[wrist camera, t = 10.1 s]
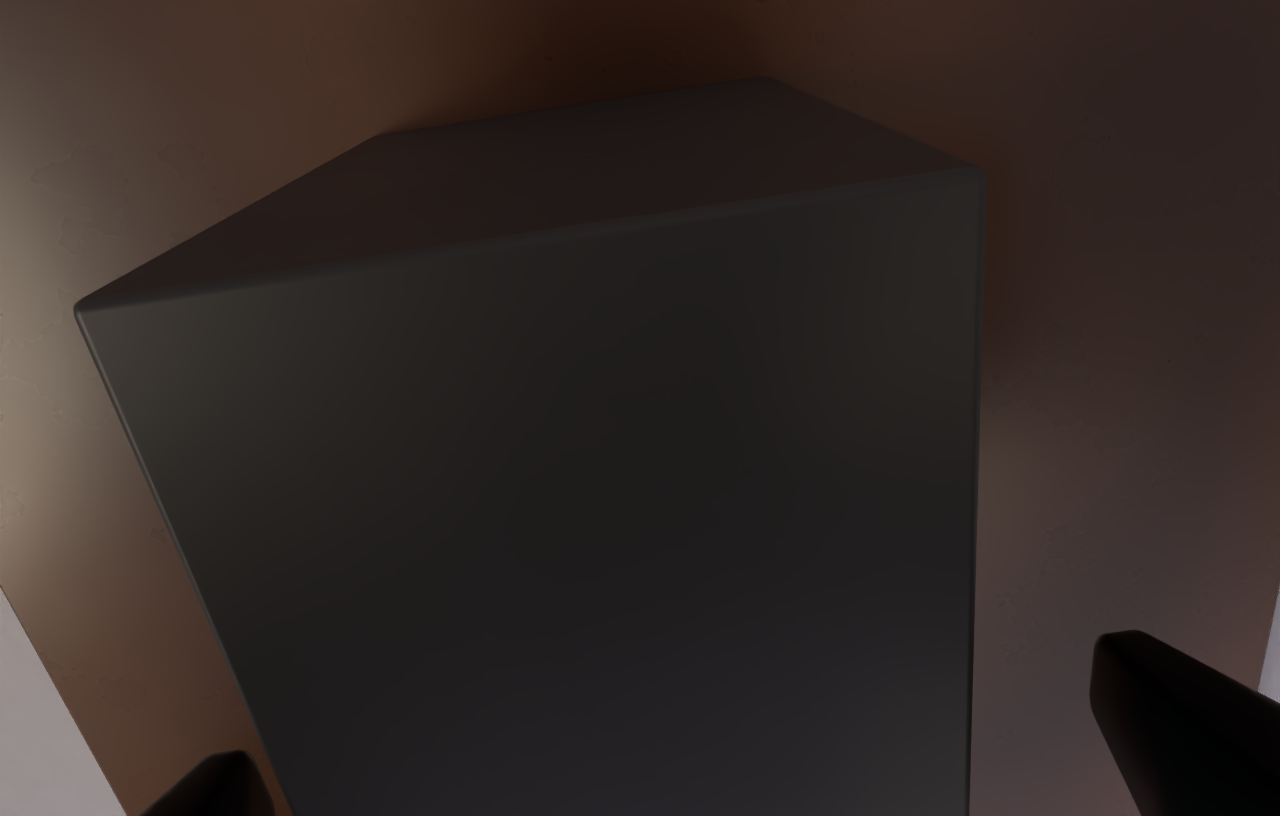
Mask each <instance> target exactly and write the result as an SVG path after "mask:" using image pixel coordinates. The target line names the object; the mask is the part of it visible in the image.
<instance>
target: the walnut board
mask: <svg viewBox="0 0 1280 816" xmlns="http://www.w3.org/2000/svg"><path fill="white" fill-rule="evenodd" d="M764 76H768V77H771V78H774V79H776V80H778V81H781V82H783V83H785V84H788V85H790V86H792V87H795V88H797V89H799V90H802V91H804V92H806V93H809V94H811V95H813V96H816V97H818V98H820V99H823V100H825V101H827V102H830V103H832V104H834V105H837V106H839V107H841V108H844V109H846V110H848V111H851V112H853V113H855V114H858V115H860V116H863V117H865V118H867V119H870V120H872V121H874V122H877V123H879V124H881V125H884V126H886V127H888V128H891V129H893V130H895V131H898V132H900V133H902V134H905V135H907V136H909V137H912V138H914V139H916V140H919V141H921V142H923V143H926V144H928V145H930V146H933V147H935V148H937V149H940V150H942V151H944V152H947V153H949V154H951V155H954V156H956V157H958V158H961V159H963V160H965V161H968V162H970V163H973V164H975V165H977V166H980V167H982V168H983V170H984V172H985V175H986V177H987V187H986V224H985V260H984V296H983V333H982V369H981V406H980V442H979V479H978V515H977V552H976V588H975V625H974V661H973V698H972V734H971V770H970V807H969V816H1141V815H1140V812H1139V810H1138V808H1137V806H1136V804H1135V802H1134V800H1133V798H1132V796H1131V794H1130V791H1129V789H1128V787H1127V785H1126V783H1125V781H1124V779H1123V777H1122V775H1121V773H1120V770H1119V768H1118V766H1117V764H1116V762H1115V760H1114V758H1113V756H1112V754H1111V752H1110V749H1109V747H1108V745H1107V743H1106V741H1105V739H1104V737H1103V735H1102V733H1101V731H1100V728H1099V726H1098V724H1097V722H1096V720H1095V718H1094V715H1093V712H1092V709H1091V705H1090V699H1089V689H1090V679H1091V669H1092V659H1093V650H1094V644H1095V641H1096V639H1097V637H1098V636H1100V635H1102V634H1104V633H1111V632H1118V631H1126V630H1140V631H1143V632H1145V633H1148V634H1149V635H1151V636H1153V637H1155V638H1157V639H1159V640H1161V641H1163V642H1165V643H1166V644H1168V645H1170V646H1172V647H1174V648H1176V649H1178V650H1180V651H1182V652H1183V653H1185V654H1187V655H1189V656H1191V657H1193V658H1195V659H1197V660H1199V661H1200V662H1202V663H1204V664H1206V665H1208V666H1210V667H1212V668H1214V669H1216V670H1217V671H1219V672H1221V673H1223V674H1225V675H1227V676H1229V677H1231V678H1233V679H1234V680H1236V681H1238V682H1240V683H1242V684H1244V685H1246V686H1248V687H1250V688H1251V689H1253V690H1255V691H1257V692H1258V687H1259V682H1260V677H1261V673H1262V668H1263V663H1264V658H1265V653H1266V649H1267V644H1268V639H1269V634H1270V630H1271V625H1272V620H1273V615H1274V610H1275V606H1276V601H1277V596H1278V591H1279V586H1280V0H0V587H1V589H2V591H3V592H4V594H5V596H6V598H7V600H8V601H9V603H10V605H11V607H12V609H13V611H14V612H15V614H16V616H17V618H18V620H19V621H20V623H21V625H22V627H23V629H24V630H25V632H26V634H27V636H28V638H29V639H30V641H31V643H32V645H33V647H34V649H35V650H36V652H37V654H38V656H39V658H40V659H41V661H42V663H43V665H44V667H45V668H46V670H47V672H48V674H49V676H50V678H51V679H52V681H53V683H54V685H55V687H56V688H57V690H58V692H59V694H60V696H61V697H62V699H63V701H64V703H65V705H66V707H67V708H68V710H69V712H70V714H71V716H72V717H73V719H74V721H75V723H76V725H77V726H78V728H79V730H80V732H81V734H82V735H83V737H84V739H85V741H86V743H87V745H88V746H89V748H90V750H91V752H92V754H93V755H94V757H95V759H96V761H97V763H98V764H99V766H100V768H101V770H102V772H103V774H104V775H105V777H106V779H107V781H108V783H109V784H110V786H111V788H112V790H113V792H114V793H115V795H116V797H117V799H118V801H119V803H120V804H121V806H122V808H123V810H124V812H125V813H126V815H127V816H138V815H139V814H140V813H142V812H143V811H144V810H145V809H146V808H147V807H148V806H149V805H151V804H152V803H153V802H154V801H155V800H156V799H157V798H158V797H160V796H161V795H162V794H163V793H164V792H165V791H166V790H167V789H169V788H170V787H171V786H172V785H173V784H174V783H175V782H176V781H178V780H179V779H180V778H181V777H182V776H183V775H184V774H185V773H187V772H188V771H189V770H190V769H191V768H192V767H193V766H194V765H196V764H197V763H198V762H199V761H200V760H201V759H203V758H204V757H205V756H207V755H209V754H213V753H218V752H225V751H232V750H241V749H242V750H247V751H248V752H250V753H251V754H252V755H253V757H254V759H255V761H256V763H257V765H258V768H259V770H260V772H261V774H262V776H263V779H264V781H265V783H266V785H267V788H268V790H269V792H270V794H271V797H272V799H273V802H274V806H275V814H276V816H293V815H292V812H291V810H290V808H289V805H288V803H287V801H286V799H285V796H284V794H283V792H282V789H281V787H280V785H279V783H278V780H277V778H276V776H275V773H274V771H273V769H272V767H271V764H270V762H269V760H268V758H267V755H266V753H265V751H264V748H263V746H262V744H261V742H260V739H259V737H258V735H257V732H256V730H255V728H254V726H253V723H252V721H251V719H250V716H249V714H248V712H247V710H246V707H245V705H244V703H243V701H242V698H241V696H240V694H239V691H238V689H237V687H236V685H235V682H234V680H233V678H232V675H231V673H230V671H229V669H228V666H227V664H226V662H225V659H224V657H223V655H222V653H221V650H220V648H219V646H218V644H217V641H216V639H215V637H214V634H213V632H212V630H211V628H210V625H209V623H208V621H207V618H206V616H205V614H204V612H203V609H202V607H201V605H200V602H199V600H198V598H197V596H196V593H195V591H194V589H193V587H192V584H191V582H190V580H189V577H188V575H187V573H186V571H185V568H184V566H183V564H182V561H181V559H180V557H179V555H178V552H177V550H176V548H175V545H174V543H173V541H172V539H171V536H170V534H169V532H168V530H167V527H166V525H165V523H164V520H163V518H162V516H161V514H160V511H159V509H158V507H157V504H156V502H155V500H154V498H153V495H152V493H151V491H150V488H149V486H148V484H147V482H146V479H145V477H144V475H143V473H142V470H141V468H140V466H139V463H138V461H137V459H136V457H135V454H134V452H133V450H132V447H131V445H130V443H129V441H128V438H127V436H126V434H125V431H124V429H123V427H122V425H121V422H120V420H119V418H118V416H117V413H116V411H115V409H114V406H113V404H112V402H111V400H110V397H109V395H108V393H107V390H106V388H105V386H104V384H103V381H102V379H101V377H100V374H99V372H98V370H97V368H96V365H95V363H94V361H93V359H92V356H91V354H90V352H89V349H88V347H87V345H86V343H85V340H84V338H83V336H82V333H81V331H80V329H79V327H78V324H77V322H76V320H75V317H74V311H73V307H74V305H75V303H76V302H78V301H79V300H81V299H82V298H84V297H85V296H87V295H89V294H91V293H93V292H94V291H96V290H98V289H100V288H102V287H103V286H105V285H107V284H109V283H111V282H112V281H114V280H116V279H118V278H120V277H121V276H123V275H125V274H127V273H129V272H130V271H132V270H134V269H136V268H138V267H139V266H141V265H143V264H145V263H146V262H148V261H150V260H152V259H154V258H155V257H157V256H159V255H161V254H163V253H164V252H166V251H168V250H170V249H172V248H173V247H175V246H177V245H179V244H181V243H182V242H184V241H186V240H188V239H190V238H191V237H193V236H195V235H197V234H199V233H200V232H202V231H204V230H206V229H208V228H209V227H211V226H213V225H215V224H217V223H218V222H220V221H222V220H224V219H226V218H227V217H229V216H231V215H233V214H235V213H236V212H238V211H240V210H242V209H244V208H245V207H247V206H249V205H251V204H253V203H254V202H256V201H258V200H260V199H262V198H263V197H265V196H267V195H269V194H270V193H272V192H274V191H276V190H278V189H279V188H281V187H283V186H285V185H287V184H288V183H290V182H292V181H294V180H296V179H297V178H299V177H301V176H303V175H305V174H306V173H308V172H310V171H312V170H314V169H315V168H317V167H319V166H321V165H323V164H324V163H326V162H328V161H330V160H332V159H333V158H335V157H337V156H339V155H341V154H342V153H344V152H346V151H348V150H350V149H351V148H353V147H355V146H357V145H359V144H360V143H362V142H364V141H366V140H368V139H369V138H371V137H373V136H378V135H385V134H391V133H398V132H404V131H411V130H417V129H424V128H430V127H437V126H443V125H450V124H457V123H463V122H470V121H476V120H483V119H489V118H496V117H502V116H509V115H515V114H522V113H528V112H535V111H542V110H548V109H555V108H561V107H568V106H574V105H581V104H587V103H594V102H600V101H607V100H614V99H620V98H627V97H633V96H640V95H646V94H653V93H659V92H666V91H672V90H679V89H686V88H692V87H699V86H705V85H712V84H718V83H725V82H731V81H738V80H744V79H751V78H757V77H764Z"/></svg>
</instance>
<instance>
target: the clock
mask: <svg viewBox="0 0 1280 816" xmlns="http://www.w3.org/2000/svg"><path fill="white" fill-rule="evenodd" d="M986 187H987V177H986V175H985V172H984V170H983V168H982V167H980V166H977V165H975V164H973V163H970V162H968V161H965V160H963V159H961V158H958V157H956V156H954V155H951V154H949V153H947V152H944V151H942V150H940V149H937V148H935V147H933V146H930V145H928V144H926V143H923V142H921V141H919V140H916V139H914V138H912V137H909V136H907V135H905V134H902V133H900V132H898V131H895V130H893V129H891V128H888V127H886V126H884V125H881V124H879V123H877V122H874V121H872V120H870V119H867V118H865V117H863V116H860V115H858V114H855V113H853V112H851V111H848V110H846V109H844V108H841V107H839V106H837V105H834V104H832V103H830V102H827V101H825V100H823V99H820V98H818V97H816V96H813V95H811V94H809V93H806V92H804V91H802V90H799V89H797V88H795V87H792V86H790V85H788V84H785V83H783V82H781V81H778V80H776V79H774V78H771V77H768V76H764V77H757V78H751V79H744V80H738V81H731V82H725V83H718V84H712V85H705V86H699V87H692V88H686V89H679V90H672V91H666V92H659V93H653V94H646V95H640V96H633V97H627V98H620V99H614V100H607V101H600V102H594V103H587V104H581V105H574V106H568V107H561V108H555V109H548V110H542V111H535V112H528V113H522V114H515V115H509V116H502V117H496V118H489V119H483V120H476V121H470V122H463V123H457V124H450V125H443V126H437V127H430V128H424V129H417V130H411V131H404V132H398V133H391V134H385V135H378V136H373V137H371V138H369V139H368V140H366V141H364V142H362V143H360V144H359V145H357V146H355V147H353V148H351V149H350V150H348V151H346V152H344V153H342V154H341V155H339V156H337V157H335V158H333V159H332V160H330V161H328V162H326V163H324V164H323V165H321V166H319V167H317V168H315V169H314V170H312V171H310V172H308V173H306V174H305V175H303V176H301V177H299V178H297V179H296V180H294V181H292V182H290V183H288V184H287V185H285V186H283V187H281V188H279V189H278V190H276V191H274V192H272V193H270V194H269V195H267V196H265V197H263V198H262V199H260V200H258V201H256V202H254V203H253V204H251V205H249V206H247V207H245V208H244V209H242V210H240V211H238V212H236V213H235V214H233V215H231V216H229V217H227V218H226V219H224V220H222V221H220V222H218V223H217V224H215V225H213V226H211V227H209V228H208V229H206V230H204V231H202V232H200V233H199V234H197V235H195V236H193V237H191V238H190V239H188V240H186V241H184V242H182V243H181V244H179V245H177V246H175V247H173V248H172V249H170V250H168V251H166V252H164V253H163V254H161V255H159V256H157V257H155V258H154V259H152V260H150V261H148V262H146V263H145V264H143V265H141V266H139V267H138V268H136V269H134V270H132V271H130V272H129V273H127V274H125V275H123V276H121V277H120V278H118V279H116V280H114V281H112V282H111V283H109V284H107V285H105V286H103V287H102V288H100V289H98V290H96V291H94V292H93V293H91V294H89V295H87V296H85V297H84V298H82V299H81V300H79V301H78V302H76V303H75V305H74V307H73V311H74V317H75V320H76V322H77V324H78V327H79V329H80V331H81V333H82V336H83V338H84V340H85V343H86V345H87V347H88V349H89V352H90V354H91V356H92V359H93V361H94V363H95V365H96V368H97V370H98V372H99V374H100V377H101V379H102V381H103V384H104V386H105V388H106V390H107V393H108V395H109V397H110V400H111V402H112V404H113V406H114V409H115V411H116V413H117V416H118V418H119V420H120V422H121V425H122V427H123V429H124V431H125V434H126V436H127V438H128V441H129V443H130V445H131V447H132V450H133V452H134V454H135V457H136V459H137V461H138V463H139V466H140V468H141V470H142V473H143V475H144V477H145V479H146V482H147V484H148V486H149V488H150V491H151V493H152V495H153V498H154V500H155V502H156V504H157V507H158V509H159V511H160V514H161V516H162V518H163V520H164V523H165V525H166V527H167V530H168V532H169V534H170V536H171V539H172V541H173V543H174V545H175V548H176V550H177V552H178V555H179V557H180V559H181V561H182V564H183V566H184V568H185V571H186V573H187V575H188V577H189V580H190V582H191V584H192V587H193V589H194V591H195V593H196V596H197V598H198V600H199V602H200V605H201V607H202V609H203V612H204V614H205V616H206V618H207V621H208V623H209V625H210V628H211V630H212V632H213V634H214V637H215V639H216V641H217V644H218V646H219V648H220V650H221V653H222V655H223V657H224V659H225V662H226V664H227V666H228V669H229V671H230V673H231V675H232V678H233V680H234V682H235V685H236V687H237V689H238V691H239V694H240V696H241V698H242V701H243V703H244V705H245V707H246V710H247V712H248V714H249V716H250V719H251V721H252V723H253V726H254V728H255V730H256V732H257V735H258V737H259V739H260V742H261V744H262V746H263V748H264V751H265V753H266V755H267V758H268V760H269V762H270V764H271V767H272V769H273V771H274V773H275V776H276V778H277V780H278V783H279V785H280V787H281V789H282V792H283V794H284V796H285V799H286V801H287V803H288V805H289V808H290V810H291V812H292V815H293V816H969V807H970V770H971V734H972V698H973V661H974V625H975V588H976V552H977V515H978V479H979V442H980V406H981V369H982V333H983V296H984V260H985V224H986Z"/></svg>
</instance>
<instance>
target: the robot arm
mask: <svg viewBox="0 0 1280 816" xmlns="http://www.w3.org/2000/svg"><path fill="white" fill-rule="evenodd" d="M1089 699H1090V705H1091V709H1092V712H1093V715H1094V718H1095V720H1096V722H1097V724H1098V726H1099V728H1100V731H1101V733H1102V735H1103V737H1104V739H1105V741H1106V743H1107V745H1108V747H1109V749H1110V752H1111V754H1112V756H1113V758H1114V760H1115V762H1116V764H1117V766H1118V768H1119V770H1120V773H1121V775H1122V777H1123V779H1124V781H1125V783H1126V785H1127V787H1128V789H1129V791H1130V794H1131V796H1132V798H1133V800H1134V802H1135V804H1136V806H1137V808H1138V810H1139V812H1140V815H1141V816H1280V703H1278V702H1276V701H1274V700H1272V699H1270V698H1268V697H1267V696H1265V695H1263V694H1261V693H1259V692H1257V691H1255V690H1253V689H1251V688H1250V687H1248V686H1246V685H1244V684H1242V683H1240V682H1238V681H1236V680H1234V679H1233V678H1231V677H1229V676H1227V675H1225V674H1223V673H1221V672H1219V671H1217V670H1216V669H1214V668H1212V667H1210V666H1208V665H1206V664H1204V663H1202V662H1200V661H1199V660H1197V659H1195V658H1193V657H1191V656H1189V655H1187V654H1185V653H1183V652H1182V651H1180V650H1178V649H1176V648H1174V647H1172V646H1170V645H1168V644H1166V643H1165V642H1163V641H1161V640H1159V639H1157V638H1155V637H1153V636H1151V635H1149V634H1148V633H1145V632H1143V631H1140V630H1126V631H1118V632H1111V633H1104V634H1102V635H1100V636H1098V637H1097V639H1096V641H1095V644H1094V650H1093V659H1092V669H1091V679H1090V689H1089ZM138 816H276V814H275V806H274V802H273V799H272V797H271V794H270V792H269V790H268V788H267V785H266V783H265V781H264V779H263V776H262V774H261V772H260V770H259V768H258V765H257V763H256V761H255V759H254V757H253V755H252V754H251V753H250V752H248V751H247V750H242V749H241V750H232V751H225V752H218V753H213V754H209V755H207V756H205V757H204V758H203V759H201V760H200V761H199V762H198V763H197V764H196V765H194V766H193V767H192V768H191V769H190V770H189V771H188V772H187V773H185V774H184V775H183V776H182V777H181V778H180V779H179V780H178V781H176V782H175V783H174V784H173V785H172V786H171V787H170V788H169V789H167V790H166V791H165V792H164V793H163V794H162V795H161V796H160V797H158V798H157V799H156V800H155V801H154V802H153V803H152V804H151V805H149V806H148V807H147V808H146V809H145V810H144V811H143V812H142V813H140V814H139V815H138Z"/></svg>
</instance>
